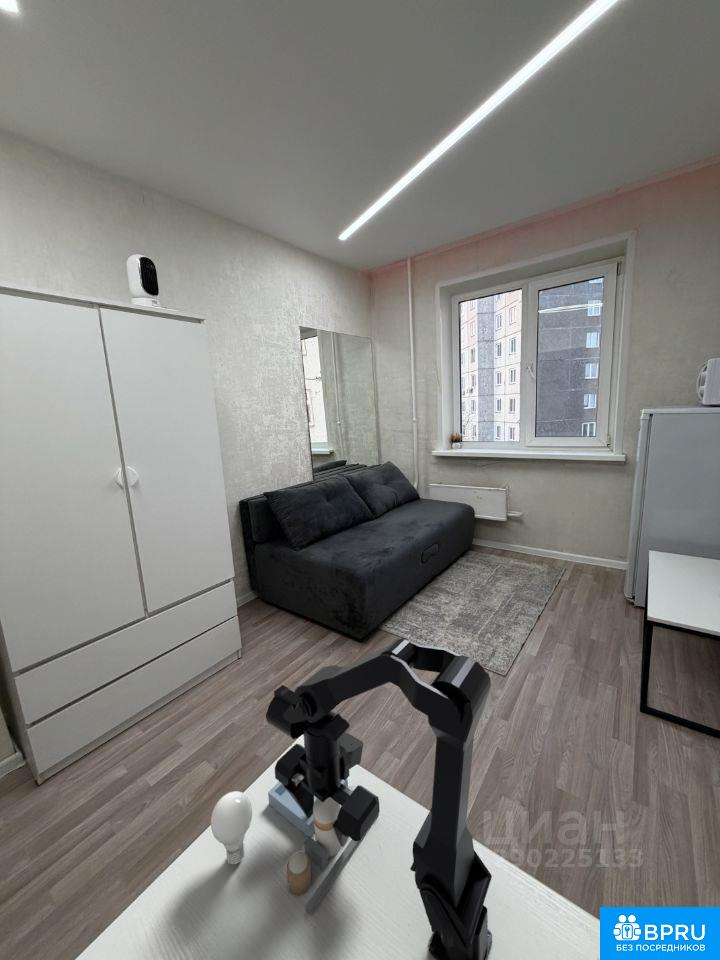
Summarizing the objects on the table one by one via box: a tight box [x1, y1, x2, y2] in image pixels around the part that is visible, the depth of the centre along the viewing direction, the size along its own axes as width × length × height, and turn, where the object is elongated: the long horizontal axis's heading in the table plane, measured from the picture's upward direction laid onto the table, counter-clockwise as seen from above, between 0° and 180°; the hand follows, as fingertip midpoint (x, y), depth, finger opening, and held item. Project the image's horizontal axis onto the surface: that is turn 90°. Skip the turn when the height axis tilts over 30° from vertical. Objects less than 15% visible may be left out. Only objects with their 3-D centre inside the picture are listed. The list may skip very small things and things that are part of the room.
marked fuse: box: [313, 797, 342, 859], centre depth 63 cm, size 4×4×7 cm
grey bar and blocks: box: [303, 813, 380, 916], centre depth 63 cm, size 6×18×2 cm, turn 143°
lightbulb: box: [210, 790, 253, 865], centre depth 61 cm, size 6×6×11 cm
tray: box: [267, 778, 349, 838], centre depth 72 cm, size 11×11×2 cm
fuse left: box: [285, 851, 312, 897], centre depth 58 cm, size 4×4×4 cm
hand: (326, 830), depth 64 cm, fingers open, 7 cm apart
